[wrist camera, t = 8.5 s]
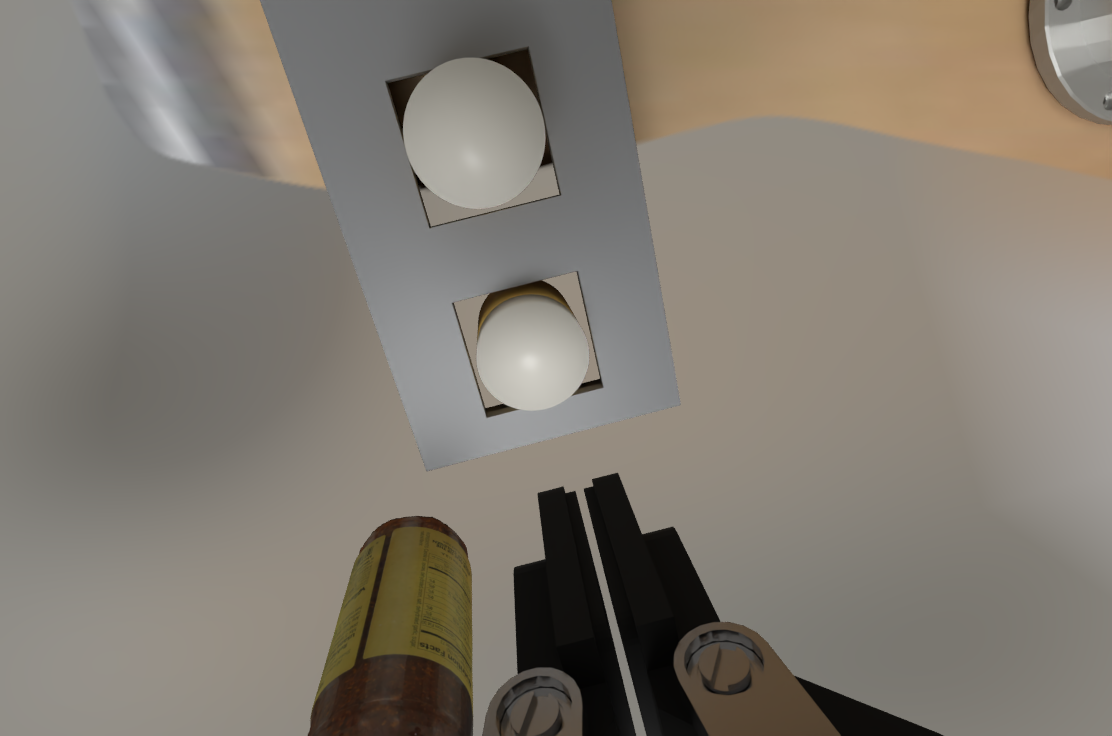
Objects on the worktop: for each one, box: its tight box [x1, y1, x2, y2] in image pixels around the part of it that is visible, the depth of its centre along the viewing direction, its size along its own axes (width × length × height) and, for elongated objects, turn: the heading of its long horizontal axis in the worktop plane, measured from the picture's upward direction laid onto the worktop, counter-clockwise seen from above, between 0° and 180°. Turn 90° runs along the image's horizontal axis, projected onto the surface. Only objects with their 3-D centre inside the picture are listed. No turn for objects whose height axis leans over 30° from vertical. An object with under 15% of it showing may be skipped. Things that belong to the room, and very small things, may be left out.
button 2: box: [476, 280, 589, 411], centre depth 26 cm, size 5×5×6 cm
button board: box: [260, 0, 681, 471], centre depth 24 cm, size 12×26×4 cm, turn 13°
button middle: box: [403, 58, 545, 209], centre depth 22 cm, size 5×5×6 cm
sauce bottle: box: [308, 516, 473, 736], centre depth 23 cm, size 6×6×20 cm
